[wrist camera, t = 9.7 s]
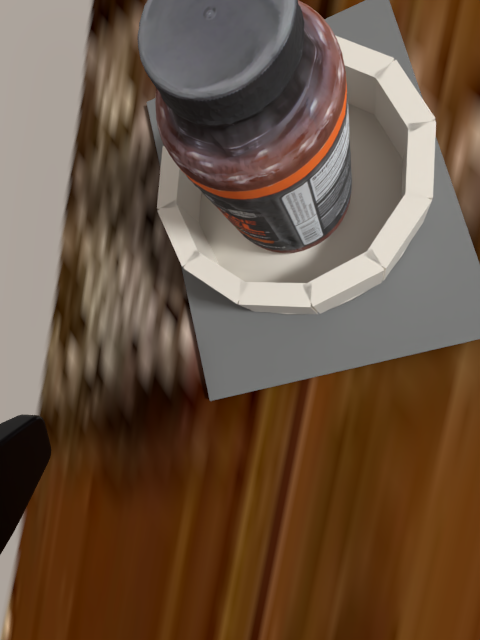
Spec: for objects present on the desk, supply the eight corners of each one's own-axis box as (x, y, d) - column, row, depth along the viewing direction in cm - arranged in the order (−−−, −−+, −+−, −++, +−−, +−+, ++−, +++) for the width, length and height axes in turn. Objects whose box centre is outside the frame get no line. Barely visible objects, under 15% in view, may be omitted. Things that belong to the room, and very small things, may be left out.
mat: (500, 334, 18) (503, 333, 18) (212, 400, 22) (209, 401, 21) (385, -3, 21) (385, -10, 21) (149, 106, 25) (146, 102, 24)
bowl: (476, 145, 19) (500, 98, 15) (330, 361, 20) (323, 362, 16) (266, 56, 22) (248, 2, 19) (151, 242, 23) (115, 222, 20)
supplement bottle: (212, 216, 21) (57, 69, 11) (280, 121, 21) (190, -139, 10) (302, 281, 20) (227, 181, 9) (380, 178, 19) (399, -62, 8)
